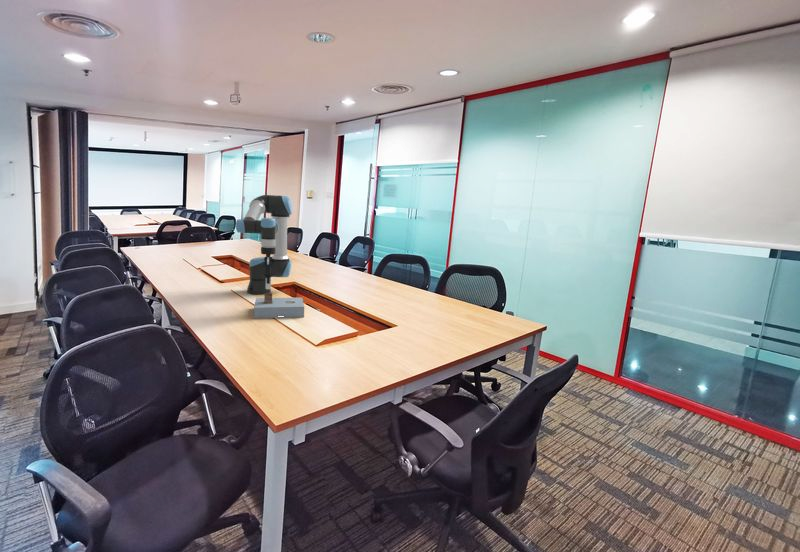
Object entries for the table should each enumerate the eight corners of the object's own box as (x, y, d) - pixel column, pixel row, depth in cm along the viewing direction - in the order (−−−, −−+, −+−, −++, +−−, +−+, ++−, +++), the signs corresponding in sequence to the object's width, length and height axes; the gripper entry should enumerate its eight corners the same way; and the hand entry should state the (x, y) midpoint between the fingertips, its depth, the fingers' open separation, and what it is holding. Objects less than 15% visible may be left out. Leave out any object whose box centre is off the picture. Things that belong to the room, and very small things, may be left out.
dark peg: (264, 303, 224) (264, 292, 222) (272, 303, 225) (272, 292, 224) (264, 305, 220) (264, 294, 219) (272, 305, 221) (272, 294, 220)
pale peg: (286, 310, 228) (286, 300, 227) (294, 310, 229) (294, 300, 228) (286, 312, 224) (286, 302, 223) (294, 312, 225) (294, 302, 224)
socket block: (256, 308, 231) (256, 298, 229) (302, 307, 238) (302, 297, 237) (254, 318, 212) (254, 307, 211) (304, 317, 219) (304, 306, 218)
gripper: (261, 245, 221) (261, 286, 225) (260, 248, 209) (260, 291, 213) (275, 245, 223) (275, 286, 228) (275, 248, 211) (275, 291, 215)
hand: (268, 288), depth 220 cm, fingers closed
